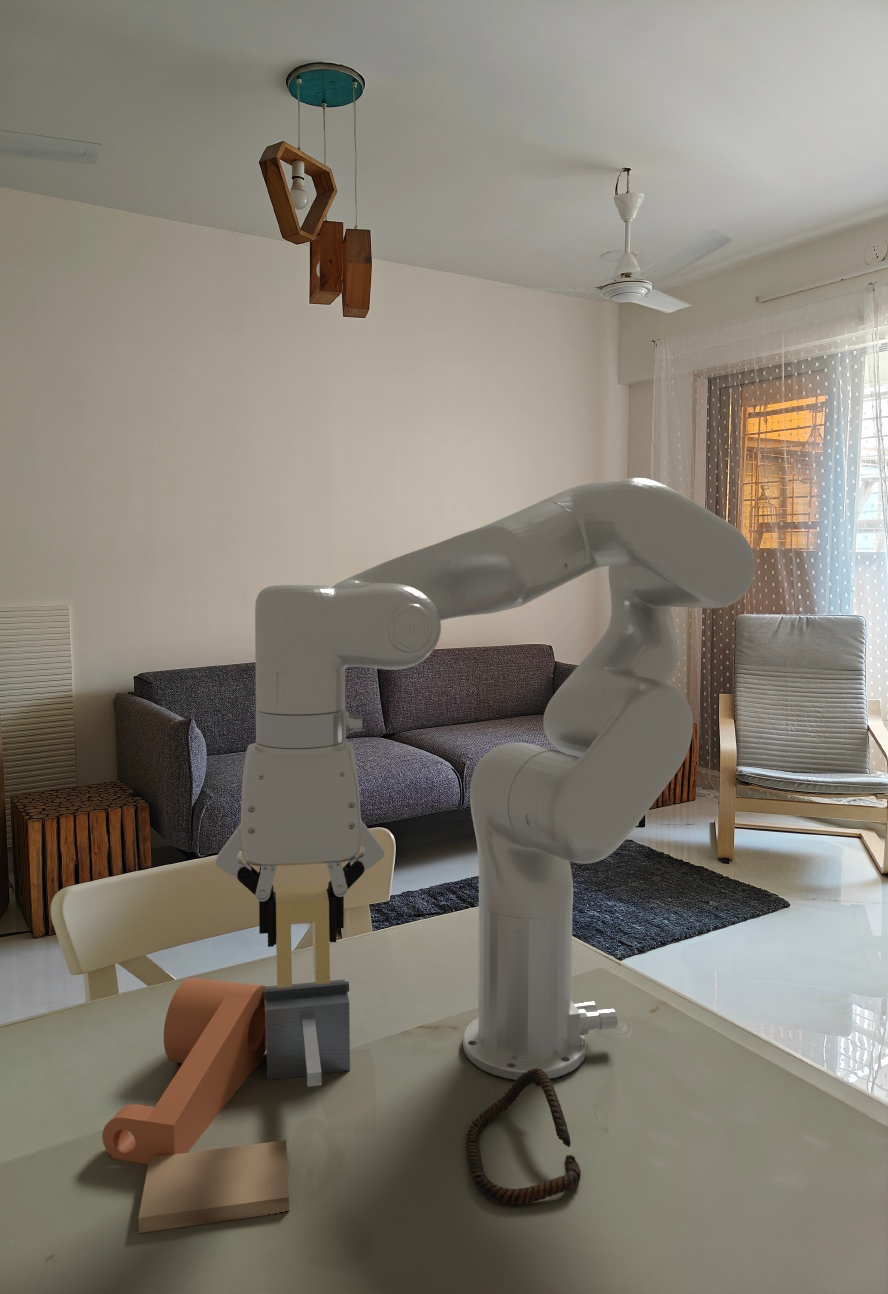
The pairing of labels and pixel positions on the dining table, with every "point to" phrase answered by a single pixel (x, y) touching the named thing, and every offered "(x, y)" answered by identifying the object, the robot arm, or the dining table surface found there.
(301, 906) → the yellow arch block
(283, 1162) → the board
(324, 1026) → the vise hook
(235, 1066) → the crank
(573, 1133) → the dining table surface
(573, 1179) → the brown twisted loop
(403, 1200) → the dining table surface
